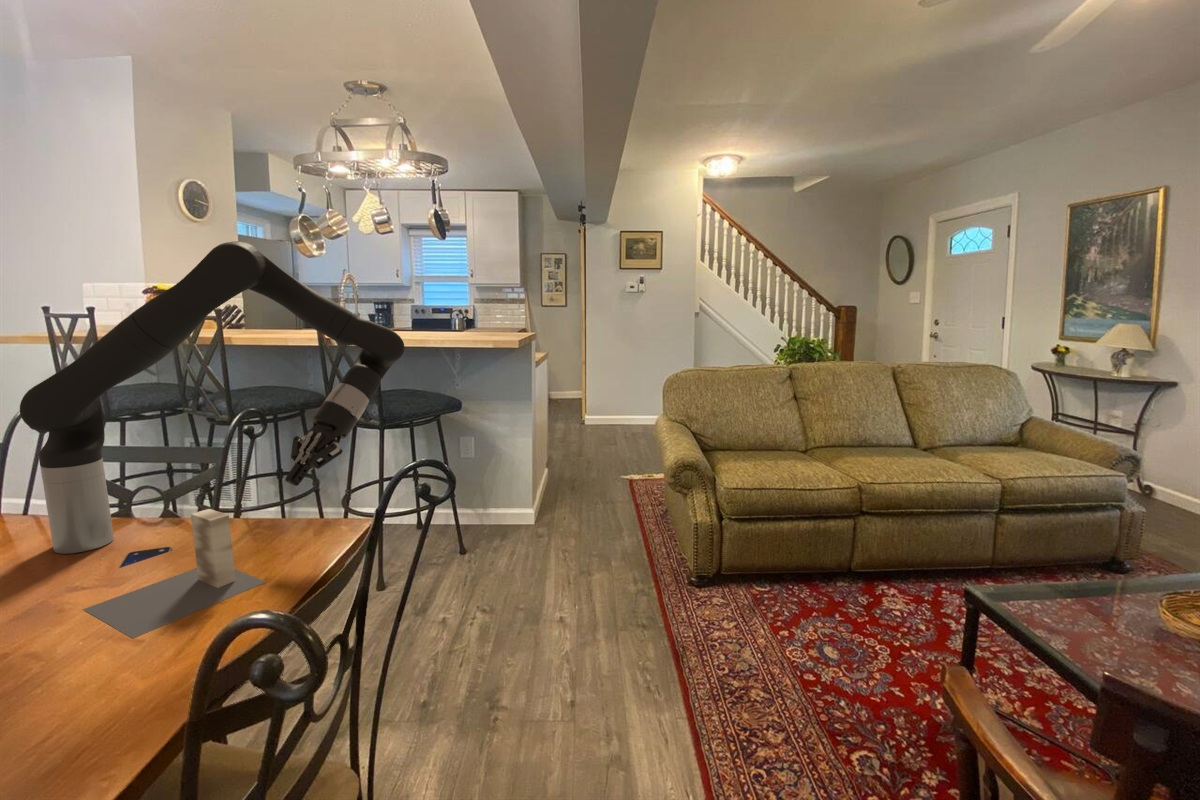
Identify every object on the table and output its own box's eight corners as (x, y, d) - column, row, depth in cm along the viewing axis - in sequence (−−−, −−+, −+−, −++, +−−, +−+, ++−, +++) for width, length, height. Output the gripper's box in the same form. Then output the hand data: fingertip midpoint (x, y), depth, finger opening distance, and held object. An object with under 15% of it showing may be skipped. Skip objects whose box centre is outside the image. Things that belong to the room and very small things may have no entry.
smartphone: (173, 545, 119) (159, 576, 105) (174, 550, 119) (159, 581, 106) (127, 551, 115) (106, 585, 102) (127, 556, 115) (107, 590, 102)
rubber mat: (83, 614, 94) (82, 609, 94) (215, 565, 111) (215, 561, 111) (133, 643, 86) (132, 638, 86) (267, 586, 103) (267, 581, 103)
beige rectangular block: (198, 579, 104) (190, 514, 102) (217, 572, 107) (210, 508, 105) (217, 587, 101) (210, 520, 99) (236, 580, 104) (230, 514, 102)
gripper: (308, 396, 123) (255, 468, 115) (351, 402, 117) (298, 479, 108) (332, 417, 129) (283, 487, 120) (375, 424, 122) (326, 498, 114)
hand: (290, 483), depth 114 cm, fingers closed
